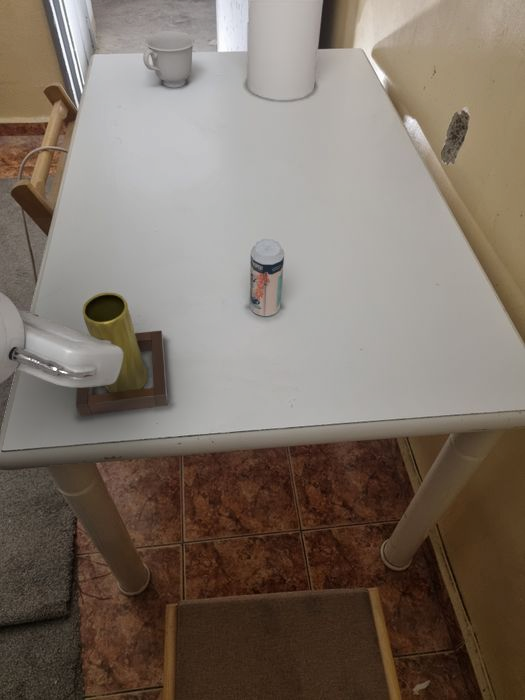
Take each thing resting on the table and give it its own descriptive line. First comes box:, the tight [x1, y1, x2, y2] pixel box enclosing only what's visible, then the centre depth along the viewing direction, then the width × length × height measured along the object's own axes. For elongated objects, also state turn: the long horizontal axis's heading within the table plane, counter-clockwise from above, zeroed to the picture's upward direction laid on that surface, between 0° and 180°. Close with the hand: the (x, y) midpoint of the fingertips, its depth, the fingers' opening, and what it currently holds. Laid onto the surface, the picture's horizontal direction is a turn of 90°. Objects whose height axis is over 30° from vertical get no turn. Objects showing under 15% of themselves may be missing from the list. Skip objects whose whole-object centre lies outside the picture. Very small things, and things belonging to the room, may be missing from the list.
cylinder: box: [246, 0, 324, 101], centre depth 122 cm, size 17×17×28 cm
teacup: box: [142, 30, 196, 89], centre depth 127 cm, size 12×15×10 cm
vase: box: [82, 292, 149, 393], centre depth 67 cm, size 6×6×14 cm
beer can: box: [249, 238, 285, 317], centre depth 77 cm, size 5×5×12 cm
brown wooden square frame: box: [75, 330, 169, 417], centre depth 72 cm, size 12×12×2 cm
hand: (67, 333), depth 57 cm, fingers open, 8 cm apart
